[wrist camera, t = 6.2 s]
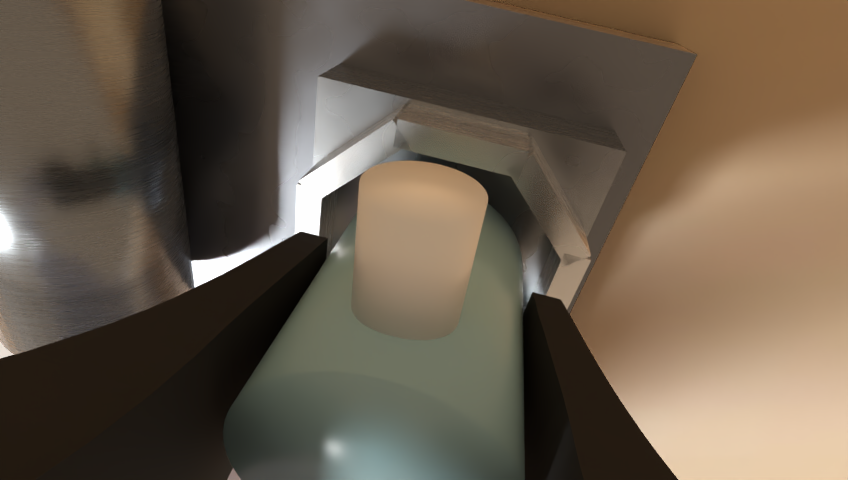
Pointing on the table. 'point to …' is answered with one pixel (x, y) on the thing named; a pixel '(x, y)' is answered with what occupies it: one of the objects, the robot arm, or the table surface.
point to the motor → (296, 136)
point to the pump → (397, 346)
